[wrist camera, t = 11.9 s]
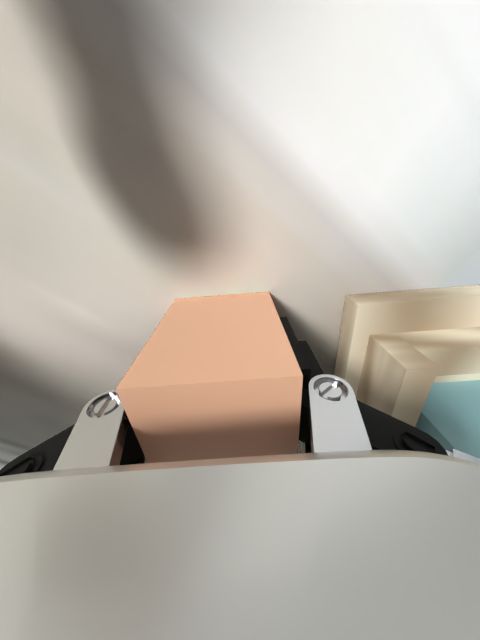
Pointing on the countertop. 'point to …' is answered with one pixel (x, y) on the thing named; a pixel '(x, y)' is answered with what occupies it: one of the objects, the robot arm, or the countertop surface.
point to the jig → (408, 345)
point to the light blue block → (453, 416)
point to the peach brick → (215, 382)
